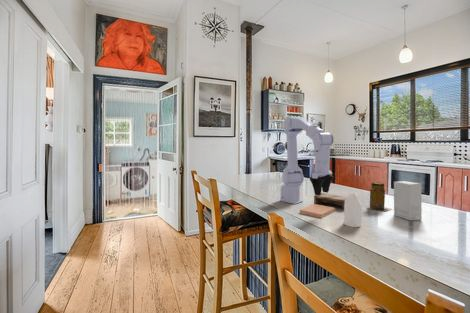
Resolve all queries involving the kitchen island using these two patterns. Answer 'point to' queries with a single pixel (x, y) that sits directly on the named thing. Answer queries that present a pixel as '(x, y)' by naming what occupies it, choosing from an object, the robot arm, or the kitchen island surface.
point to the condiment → (377, 197)
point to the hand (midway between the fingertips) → (321, 193)
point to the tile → (317, 210)
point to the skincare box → (407, 200)
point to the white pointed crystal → (352, 211)
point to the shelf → (330, 199)
